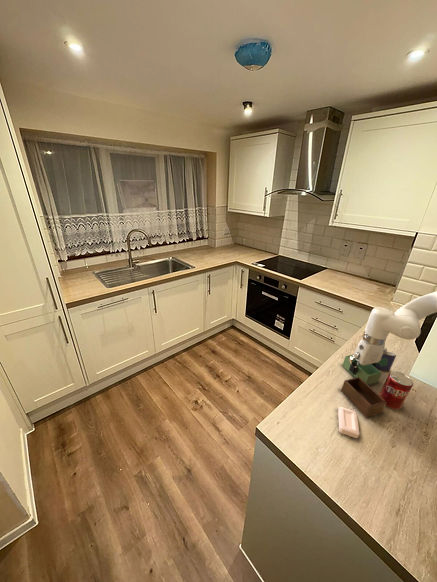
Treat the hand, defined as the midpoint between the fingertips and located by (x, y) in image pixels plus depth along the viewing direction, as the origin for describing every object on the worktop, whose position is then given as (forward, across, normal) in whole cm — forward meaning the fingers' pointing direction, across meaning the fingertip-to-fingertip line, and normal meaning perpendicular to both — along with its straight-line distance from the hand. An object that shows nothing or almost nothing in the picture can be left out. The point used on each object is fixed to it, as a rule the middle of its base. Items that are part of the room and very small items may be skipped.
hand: (361, 370), depth 99 cm
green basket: (+2, 0, 0) cm, 2 cm away
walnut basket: (+2, -11, -11) cm, 16 cm away
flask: (+2, +11, +1) cm, 11 cm away
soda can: (+2, 0, -14) cm, 14 cm away
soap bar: (+2, -23, -17) cm, 29 cm away
